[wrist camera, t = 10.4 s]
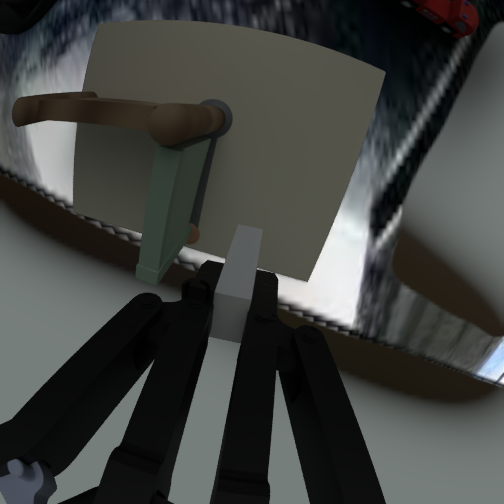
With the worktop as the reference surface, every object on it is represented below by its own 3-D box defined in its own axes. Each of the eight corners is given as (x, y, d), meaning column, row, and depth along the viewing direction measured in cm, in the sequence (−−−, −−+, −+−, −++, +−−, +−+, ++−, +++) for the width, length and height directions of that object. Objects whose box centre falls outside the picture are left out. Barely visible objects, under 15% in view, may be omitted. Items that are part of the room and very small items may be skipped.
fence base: (81, 112, 22) (11, 126, 13) (85, 91, 21) (13, 97, 12) (222, 134, 22) (183, 149, 14) (229, 108, 21) (192, 106, 13)
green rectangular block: (196, 133, 22) (154, 145, 15) (215, 138, 22) (181, 152, 15) (173, 231, 27) (135, 278, 20) (189, 237, 27) (156, 286, 20)
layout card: (74, 211, 28) (73, 212, 27) (100, 24, 17) (98, 24, 17) (307, 280, 29) (307, 282, 28) (384, 72, 18) (385, 72, 18)
